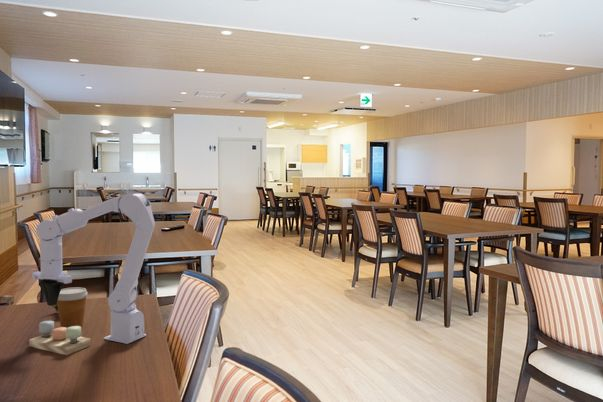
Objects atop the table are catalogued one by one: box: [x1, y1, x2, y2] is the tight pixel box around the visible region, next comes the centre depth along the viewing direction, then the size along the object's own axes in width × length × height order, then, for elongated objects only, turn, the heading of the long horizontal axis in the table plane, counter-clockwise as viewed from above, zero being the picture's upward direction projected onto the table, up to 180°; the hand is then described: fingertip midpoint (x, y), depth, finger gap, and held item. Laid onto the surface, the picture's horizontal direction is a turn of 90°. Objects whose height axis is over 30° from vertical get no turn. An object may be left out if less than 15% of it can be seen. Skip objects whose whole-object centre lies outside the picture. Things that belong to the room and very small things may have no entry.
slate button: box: [38, 320, 55, 338], centre depth 132 cm, size 4×4×4 cm
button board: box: [28, 332, 92, 356], centre depth 130 cm, size 15×8×2 cm, turn 66°
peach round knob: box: [52, 326, 66, 341], centre depth 130 cm, size 4×4×4 cm
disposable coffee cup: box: [57, 286, 89, 328], centre depth 146 cm, size 10×10×12 cm
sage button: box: [66, 326, 82, 344], centre depth 128 cm, size 4×4×4 cm
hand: (52, 304), depth 135 cm, fingers closed
